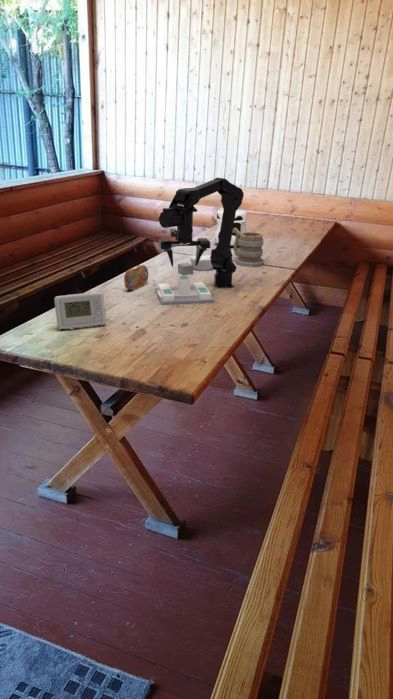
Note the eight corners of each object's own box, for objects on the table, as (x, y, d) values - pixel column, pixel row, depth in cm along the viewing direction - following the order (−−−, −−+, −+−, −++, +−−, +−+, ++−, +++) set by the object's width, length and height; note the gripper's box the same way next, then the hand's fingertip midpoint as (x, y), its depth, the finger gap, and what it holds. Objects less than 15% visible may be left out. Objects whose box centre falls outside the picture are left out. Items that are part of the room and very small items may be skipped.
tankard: (268, 264, 261) (270, 233, 255) (247, 268, 254) (249, 235, 248) (241, 255, 276) (243, 225, 270) (221, 258, 269) (223, 228, 263)
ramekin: (209, 264, 259) (209, 253, 257) (217, 270, 249) (218, 259, 247) (186, 265, 255) (187, 254, 253) (194, 272, 246) (194, 260, 244)
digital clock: (56, 331, 177) (53, 300, 172) (57, 321, 185) (54, 291, 180) (106, 329, 179) (105, 298, 175) (106, 319, 188) (104, 290, 183)
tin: (129, 292, 216) (129, 272, 212) (123, 291, 217) (122, 270, 214) (149, 283, 228) (148, 263, 225) (142, 282, 229) (142, 262, 226)
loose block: (187, 271, 247) (188, 262, 245) (193, 274, 243) (193, 265, 241) (177, 272, 244) (178, 264, 243) (183, 275, 240) (183, 266, 239)
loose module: (187, 290, 216) (187, 275, 213) (190, 295, 210) (190, 279, 208) (177, 290, 215) (177, 275, 213) (180, 295, 210) (180, 280, 207)
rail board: (203, 288, 223) (204, 280, 222) (214, 302, 207) (214, 294, 206) (155, 290, 219) (155, 282, 218) (161, 304, 203) (161, 296, 202)
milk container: (212, 241, 303) (213, 208, 296) (242, 241, 305) (244, 208, 298) (216, 249, 288) (217, 214, 281) (248, 248, 290) (251, 214, 282)
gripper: (204, 220, 211) (203, 260, 218) (156, 221, 208) (156, 261, 214) (211, 226, 201) (209, 267, 208) (161, 226, 198) (161, 268, 204)
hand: (184, 266), depth 209 cm, fingers open, 9 cm apart
